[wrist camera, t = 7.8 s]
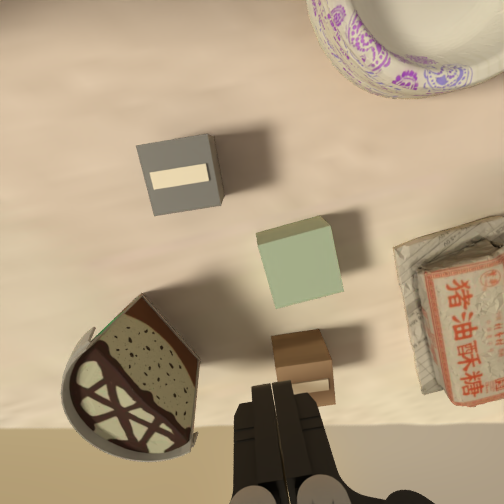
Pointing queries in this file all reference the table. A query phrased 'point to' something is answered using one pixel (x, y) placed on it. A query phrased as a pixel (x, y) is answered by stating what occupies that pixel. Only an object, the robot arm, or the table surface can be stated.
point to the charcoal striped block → (182, 174)
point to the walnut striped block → (305, 364)
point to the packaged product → (456, 309)
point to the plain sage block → (300, 261)
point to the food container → (133, 387)
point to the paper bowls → (411, 43)
